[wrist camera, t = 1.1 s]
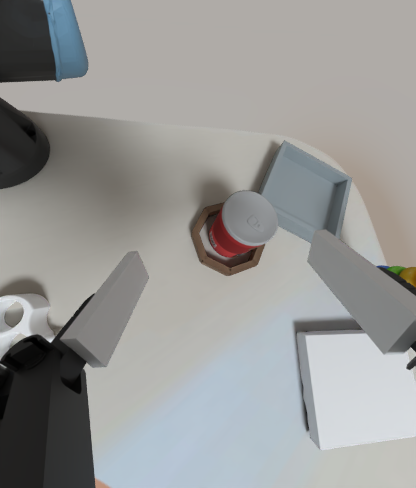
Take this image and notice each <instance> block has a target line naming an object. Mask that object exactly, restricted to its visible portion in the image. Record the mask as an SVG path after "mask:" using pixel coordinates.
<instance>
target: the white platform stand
mask: <svg viewBox="0 0 416 488" xmlns="http://www.w3.org/2000/svg"><path fill="white" fill-rule="evenodd" d="M296 337H297V346H298V355H299V363H300V372H301V380H302V383H303V388H304V392H303V399H304V401H305V404H306V409H307V414H308V425H309V430H310V438H311V440H312V441H313V442H314V443H315V444H316V445H317V447H318V448H319V449H320V450H326V449H333V448H340V447H347V446H354V445H361V444H367V443H374V442H381V441H388V440H395V439H402V438H409V437H416V382H415V378H414V375H413V371H412V369H411V370H408V369H406V367H407V364H408V363H409V362H410V360H409V357H408V353H407V351H406V352H405V353H404V354H400V355H383V353H382V352H381V351H380V350H379V348H378V347H377V346H376V345H375V344H374V342H373V341H372V340H371V339H370V337H369V336H368V335H367V334H366V333H365V331H364V330H363V329H362V330H331V331H308V332H297V335H296Z"/></svg>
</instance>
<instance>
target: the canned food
mask: <svg viewBox="0 0 416 488" xmlns="http://www.w3.org/2000/svg"><path fill="white" fill-rule="evenodd" d="M277 228H278V218H277V214H276V211H275V209H274V207H273V206H272V204H271V203H270V202H269V201H268V200H267V199H266V198H265V197H264V196H262V195H260V194H258V193H256V192H253V191H247V190H244V191H238V192H236V193H234V194H232V195H231V196H230V197H229V198H228V199H227V200H226V202H225V203H224V205H223V206H222V208H221V210H220V212H219V214H218V215H217V217H216V219H215V221H214V223H213V225H212V226H211V228H210V231H209V240H210V243H211V245H212V247H213V249H214V250H215V251H216V252H217V253H219V254H220V255H222V256H225V257H229V258H234V257H237V256H240V255H242V254H244V253H246V252H248V251H250V250H253V249H255V248H257V247H259V246H261V245H263V244H265V243H267V242H268V241H269V240H271V239H272V238H273V236H274V235H275V233H276V231H277Z"/></svg>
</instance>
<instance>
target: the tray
mask: <svg viewBox="0 0 416 488" xmlns="http://www.w3.org/2000/svg"><path fill="white" fill-rule="evenodd" d="M351 182H352V178H351V177H349V176H347V175H346V174H344V173H342V172H340V171H338V170H337V169H335V168H333V167H331V166H329V165H328V164H326V163H324V162H322V161H320V160H319V159H317V158H315V157H313V156H312V155H310V154H308V153H306V152H304V151H303V150H301V149H299V148H297V147H295V146H294V145H292V144H290V143H288V142H286V141H285V140H284V142H283V143H282V144H281V146H280V147H279V148H278V150H277V151H276V153H275V155H274V157H273V159H272V162H271V164H270V166H269V169H268V171H267V173H266V176H265V178H264V180H263V183H262V185H261V187H260V190H259V192H258V194H260V195H262V196H264V197H265V198H266V199H267V200H268V201H269V202H270V203H271V204H272V206H273V207H274V209H275V211H276V214H277V218H278V226H280V227H281V228H283V229H285V230H287V231H289V232H291V233H293V234H295V235H297V236H299V237H300V238H302V239H304V240H306V241H308V242H310V243H312V238H313V234H314V231H316V230H325V229H326V230H327V231H329V232H330V233H331V234H333V235H334V236H335V237H337V238H338V239H340V234H341V229H342V225H343V220H344V215H345V210H346V206H347V201H348V196H349V191H350V186H351Z"/></svg>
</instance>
